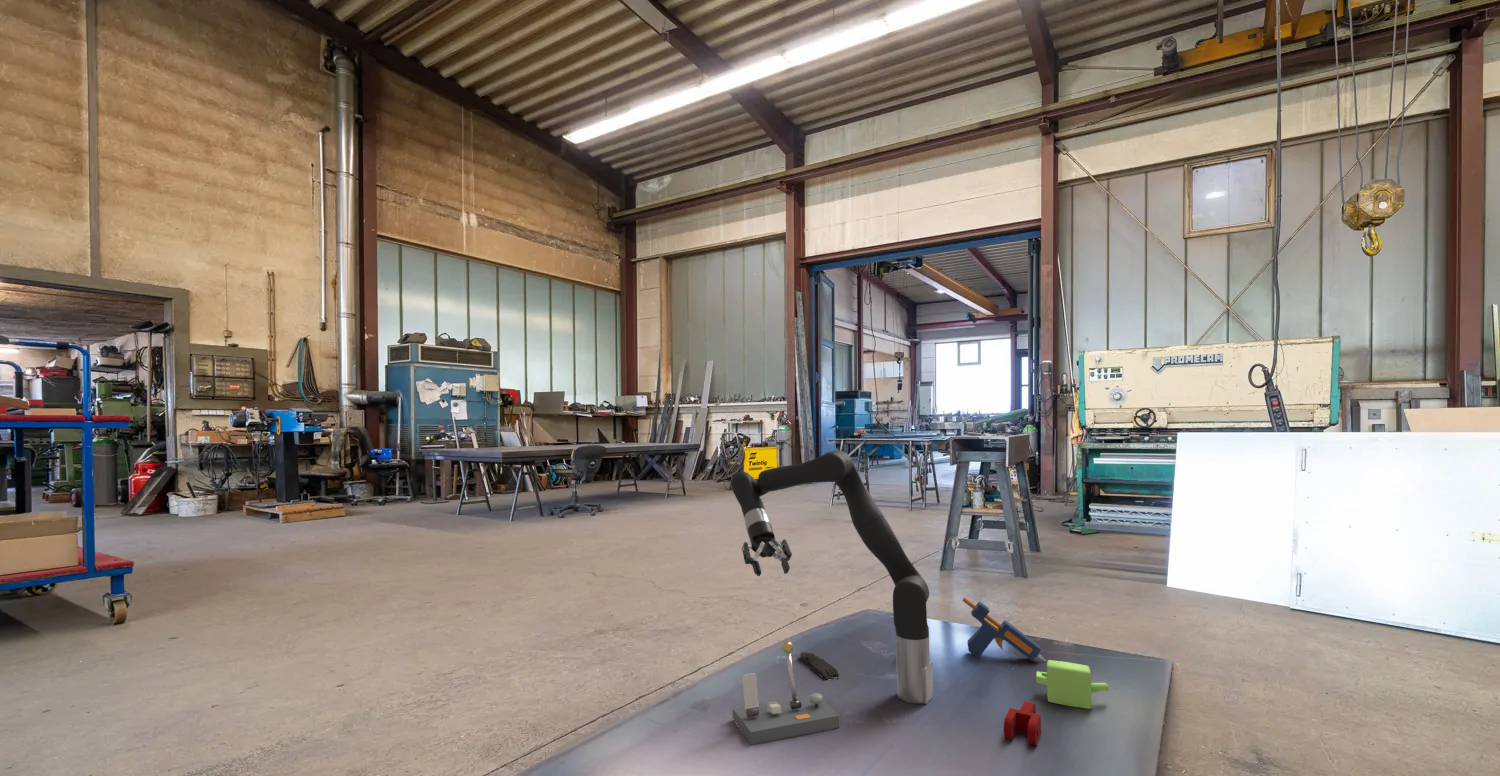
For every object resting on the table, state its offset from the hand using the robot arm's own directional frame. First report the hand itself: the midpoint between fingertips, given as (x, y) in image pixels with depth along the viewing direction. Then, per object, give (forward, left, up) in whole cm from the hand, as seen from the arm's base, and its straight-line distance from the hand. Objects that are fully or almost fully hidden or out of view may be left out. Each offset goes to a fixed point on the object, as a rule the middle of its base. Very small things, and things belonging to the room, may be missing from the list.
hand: (773, 573), depth 184 cm
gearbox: (-72, -41, -35) cm, 90 cm away
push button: (-16, +6, -32) cm, 36 cm away
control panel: (-11, +13, -35) cm, 39 cm away
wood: (-1, -26, -35) cm, 44 cm away
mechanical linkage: (-64, -15, -35) cm, 75 cm away
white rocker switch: (-9, +16, -30) cm, 35 cm away
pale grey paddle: (-5, +20, -30) cm, 37 cm away
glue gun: (-49, -65, -35) cm, 89 cm away
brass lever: (-13, +11, -30) cm, 34 cm away
